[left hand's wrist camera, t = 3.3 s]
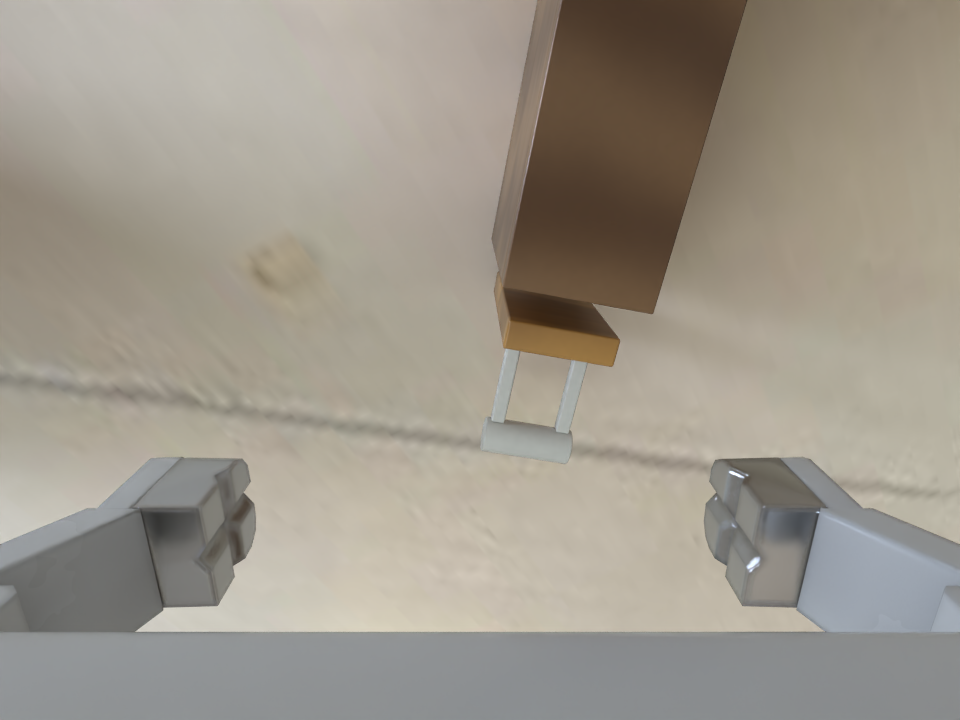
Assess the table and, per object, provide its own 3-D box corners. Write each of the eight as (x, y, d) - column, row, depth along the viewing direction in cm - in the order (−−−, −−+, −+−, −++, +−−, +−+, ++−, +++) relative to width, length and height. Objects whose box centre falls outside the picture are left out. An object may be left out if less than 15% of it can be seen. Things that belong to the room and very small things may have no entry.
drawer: (549, 401, 34) (578, 491, 25) (474, 388, 34) (475, 475, 25) (658, -34, 26) (753, -125, 18) (563, -56, 26) (611, -160, 17)
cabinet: (592, 259, 32) (653, 314, 21) (491, 239, 32) (502, 287, 21) (689, -121, 26) (838, -303, 16) (566, -151, 26) (634, -359, 15)
